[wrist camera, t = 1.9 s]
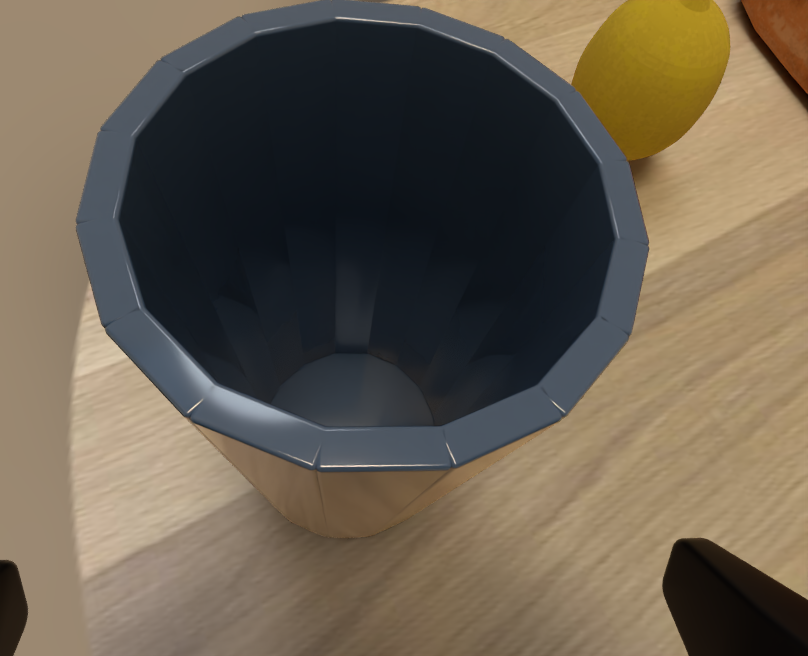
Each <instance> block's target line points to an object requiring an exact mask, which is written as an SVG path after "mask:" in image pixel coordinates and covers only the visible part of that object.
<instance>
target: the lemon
mask: <svg viewBox="0 0 808 656" xmlns="http://www.w3.org/2000/svg"><path fill="white" fill-rule="evenodd" d="M729 55H730V36H729V28H728V25H727V22H726V20H725V17H724V15H723V13H722V11H721V10H720V8H719V7H718V5H717V4H716V3H715V2H714V1H713V0H628V1H626V2H625V3H623V4H622V5H621V6H620V7H618V8H617V9H616V10H615V11H614V12H613V13H612V14H611V15H610V16H609V17H608V19H607V20H606V21H605V22H604V23H603V25H602V26H601V27H600V28H599V30H598V31H597V32H596V34H595V35H594V36H593V38H592V39H591V40H590V42H589V44H588V45H587V47H586V48H585V50H584V52H583V54H582V56H581V58H580V60H579V62H578V65H577V68H576V70H575V74H574V77H573V80H572V84H571V85H572V86H573V87H575V89H576V91H578V92H580V94H581V95H582V96H583V98H584V99H585V101H586V102H587V103H588V105H589V106H590V108H591V109H592V110H593V112H594V113H595V114H596V116H597V117H598V119H599V120H600V121H601V123H602V124H603V125H604V127H605V128H606V130H607V131H608V132H609V134H610V135H611V137H612V138H613V139H614V141H615V142H616V143H617V145H618V146H619V148H620V149H621V150H622V152H623V153H624V155H625V156H626V157H627V160H637V159H641V158H645V157H649V156H652V155H654V154H656V153H658V152H660V151H662V150H664V149H665V148H667V147H669V146H670V145H672V144H673V143H675V142H676V141H678V140H679V139H680V138H681V137H682V136H683V135H684V134H685V133H686V132H687V131H688V130H689V129H690V128H691V127H692V126H693V125H694V124H695V122H696V121H697V120H698V119H699V118H700V116H701V115H702V114H703V113H704V111H705V110H706V108H707V107H708V105H709V104H710V102H711V101H712V99H713V97H714V95H715V93H716V92H717V89H718V87H719V85H720V83H721V80H722V78H723V75H724V72H725V69H726V66H727V63H728V59H729Z"/></svg>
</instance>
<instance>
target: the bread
mask: <svg viewBox="0 0 808 656" xmlns="http://www.w3.org/2000/svg"><path fill="white" fill-rule="evenodd" d="M741 1H742V3H743V5H744V7H745V10H746V12H747V14H748V16H749V18H750V20H751V22H752V24H753V27H754V29H755V30H756V32H757V33H758V34H759V35H760V37H761V38H762V39H763V40H764V42H765V43H766V44H767V45H768V47H769V48H770V49H771V51H772V52H773V53H774V54H775V56H776V57H777V58H778V59H779V61H780V62H781V63H782V64H783V66H784V67H785V68H786V69H787V71H788V72H789V73H790V74H791V76H792V77H793V78H794V79H795V80H796V81H797V82H798V84H799V85H800V86H801V87H802V88H803V89H804V91H805V92H806V93H807V94H808V0H741Z"/></svg>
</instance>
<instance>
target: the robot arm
mask: <svg viewBox="0 0 808 656" xmlns="http://www.w3.org/2000/svg"><path fill="white" fill-rule="evenodd" d="M662 587H663V593H664V597H665V600H666V602H667V605H668V607H669V610H670V612H671V614H672V617H673V619H674V621H675V624H676V626H677V628H678V631H679V633H680V636H681V638H682V640H683V643H684V645H685V647H686V650H687V652H688V655H689V656H808V600H807V599H806V598H804V597H802V596H801V595H799V594H797V593H796V592H794V591H792V590H791V589H789V588H787V587H786V586H784V585H783V584H781V583H779V582H778V581H776V580H774V579H773V578H771V577H769V576H768V575H766V574H764V573H763V572H761V571H759V570H758V569H756V568H755V567H753V566H751V565H750V564H748V563H746V562H745V561H743V560H741V559H740V558H738V557H736V556H735V555H733V554H731V553H730V552H728V551H727V550H725V549H723V548H722V547H720V546H718V545H717V544H715V543H713V542H712V541H710V540H708V539H704V538H683V539H679V540H677V541H676V542H675V543H674V545H673V548H672V551H671V554H670V558H669V561H668V564H667V567H666V571H665V574H664V577H663V585H662ZM27 616H28V606H27V601H26V598H25V594H24V590H23V586H22V582H21V578H20V575H19V571H18V568H17V565H16V564H15V563H14V562H12V561H9V560H0V656H13V655H14V653H15V650H16V648H17V645H18V643H19V641H20V638H21V636H22V633H23V631H24V628H25V625H26V622H27Z"/></svg>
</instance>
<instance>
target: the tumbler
mask: <svg viewBox="0 0 808 656" xmlns="http://www.w3.org/2000/svg"><path fill="white" fill-rule="evenodd" d="M76 223H77V225H76V232H77V235H78V239H79V243H80V246H81V250H82V253H83V257H84V261H85V265H86V269H87V272H88V276H89V280H90V284H91V287H92V291H93V295H94V299H95V302H96V306H97V310H98V313H99V317H100V321H101V325H102V326H103V327H104V328H105V331H106V334H107V335H108V336H109V337H110V338H111V339H112V340H113V341H114V342H115V343H116V344H117V345H118V346H119V348H120V349H121V350H122V351H123V352H124V353H125V354H126V355H127V356H128V357H129V358H130V359H131V360H132V361H133V363H134V364H135V365H136V366H137V367H138V368H139V369H140V370H141V371H142V372H143V373H144V374H145V375H146V377H147V378H148V379H149V380H150V381H151V382H152V383H153V384H154V385H155V386H156V387H157V388H158V389H159V391H160V392H161V393H162V394H163V395H164V396H165V397H166V398H167V399H168V400H169V401H170V402H171V403H172V404H173V406H174V407H175V408H176V409H177V410H178V411H179V412H180V413H181V414H182V415H183V416H184V417H185V418H186V419H187V420H188V421H189V422H190V423H191V424H192V425H193V426H194V427H195V428H196V429H197V430H198V431H199V432H200V433H201V434H202V435H203V436H204V437H205V438H206V439H207V440H208V441H209V442H210V443H211V444H212V445H213V446H214V447H215V448H216V449H217V450H218V451H219V452H220V453H221V454H222V455H223V456H224V457H225V458H226V459H227V460H228V461H229V462H230V463H231V464H232V465H233V466H234V467H235V468H236V469H237V470H238V471H239V472H240V473H241V474H242V475H243V476H244V477H245V478H246V479H247V480H248V481H249V482H250V483H251V484H252V485H253V486H254V487H255V488H256V489H257V490H258V491H259V492H260V493H261V494H262V495H263V496H264V497H265V498H266V499H267V500H268V501H269V502H270V503H271V504H272V505H273V506H274V507H275V508H276V509H277V510H278V511H279V512H280V513H281V514H282V515H283V516H284V517H285V518H286V519H287V520H288V521H290V522H291V523H294V524H296V525H298V526H300V527H302V528H304V529H306V530H308V531H310V532H313V533H316V534H319V535H322V536H325V537H329V538H359V537H370V536H373V535H375V534H378V533H380V532H382V531H384V530H387V529H389V528H391V527H392V526H394V525H396V524H399V523H401V522H403V521H405V520H407V519H409V518H410V517H412V516H413V515H415V514H416V513H418V512H419V511H421V510H423V509H424V508H426V507H427V506H429V505H430V504H432V503H434V502H435V501H437V500H438V499H440V498H441V497H443V496H444V495H446V494H448V493H449V492H451V491H452V490H454V489H455V488H457V487H458V486H460V485H462V484H463V483H465V482H466V481H468V480H469V479H471V478H472V477H474V476H476V475H477V474H479V473H480V472H482V471H483V470H485V469H487V468H488V467H490V466H491V465H493V464H494V463H496V462H497V461H499V460H501V459H502V458H504V457H505V456H507V455H508V454H510V453H511V452H513V451H515V450H516V449H518V448H519V447H521V446H522V445H524V444H526V443H527V442H529V441H530V440H532V439H533V438H535V437H536V436H538V435H540V434H541V433H543V432H544V431H546V430H547V429H549V428H550V427H552V426H554V425H555V424H557V423H558V422H560V421H561V420H562V419H563V418H565V417H566V416H567V415H568V414H569V413H570V412H571V411H572V409H573V408H574V407H575V406H576V404H577V403H578V402H579V401H580V400H581V398H582V397H583V396H584V395H585V393H586V392H587V391H588V390H589V389H590V387H591V386H592V385H593V384H594V382H595V381H596V380H597V379H598V378H599V376H600V375H601V374H602V373H603V371H604V370H605V369H606V368H607V366H608V365H609V364H610V363H611V362H612V360H613V359H614V358H615V357H616V355H617V354H618V353H619V352H620V351H621V349H622V348H623V347H624V346H625V344H626V343H627V342H628V340H629V336H630V335H631V334H632V329H633V324H634V320H635V315H636V310H637V305H638V300H639V295H640V291H641V286H642V281H643V276H644V271H645V266H646V262H647V257H648V252H649V246H648V245H649V240H648V236H647V232H646V228H645V224H644V220H643V216H642V212H641V208H640V204H639V200H638V196H637V192H636V188H635V184H634V180H633V176H632V172H631V168H630V164H629V162H627V157H626V156H625V155H624V153H623V152H622V150H621V149H620V148H619V146H618V145H617V143H616V142H615V141H614V139H613V138H612V137H611V135H610V134H609V132H608V131H607V130H606V128H605V127H604V125H603V124H602V123H601V121H600V120H599V119H598V117H597V116H596V114H595V113H594V112H593V110H592V109H591V108H590V106H589V105H588V103H587V102H586V101H585V99H584V98H583V96H582V95H581V94H580V92H578V91H576V89H575V87H573V86H572V85H571V84H569V83H568V82H567V81H565V80H564V79H562V78H561V77H560V76H558V75H557V74H556V73H554V72H553V71H551V70H550V69H549V68H547V67H546V66H545V65H543V64H542V63H540V62H539V61H538V60H536V59H535V58H534V57H532V56H531V55H529V54H528V53H527V52H525V51H524V50H523V49H521V48H520V47H518V46H517V45H516V44H514V43H513V42H512V41H510V40H509V39H504V37H503V36H500V35H498V34H495V33H492V32H489V31H487V30H484V29H481V28H479V27H476V26H473V25H470V24H468V23H465V22H462V21H460V20H457V19H454V18H451V17H449V16H446V15H443V14H440V13H438V12H435V11H432V10H430V9H427V8H422V9H421V8H420V7H419V6H410V5H399V4H388V3H376V2H364V1H354V0H332V1H331V0H319V1H314V2H308V3H303V4H297V5H292V6H287V7H282V8H276V9H271V10H265V11H259V12H255V13H249V14H244V15H242V17H236V18H234V19H232V20H230V21H228V22H226V23H224V24H222V25H221V26H219V27H217V28H215V29H213V30H211V31H209V32H207V33H206V34H204V35H202V36H200V37H198V38H196V39H194V40H193V41H191V42H189V43H187V44H185V45H183V46H181V47H179V48H178V49H176V50H174V51H172V52H170V53H168V54H166V55H164V56H163V57H162V58H161V60H158V61H156V62H155V64H154V65H153V66H152V67H151V68H150V70H149V71H148V72H147V73H146V74H145V75H144V77H143V78H142V79H141V80H140V81H139V82H138V84H137V85H136V86H135V87H134V88H133V90H132V91H131V92H130V93H129V94H128V95H127V96H126V98H125V99H124V100H123V101H122V102H121V104H120V105H119V106H118V107H117V108H116V109H115V111H114V112H113V113H112V114H111V115H110V117H109V118H108V119H107V120H106V121H105V122H104V124H103V125H102V126H101V128H100V131H99V132H98V134H97V138H96V142H95V146H94V149H93V154H92V157H91V162H90V166H89V169H88V173H87V177H86V181H85V185H84V189H83V193H82V197H81V202H80V205H79V209H78V213H77V217H76Z"/></svg>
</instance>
